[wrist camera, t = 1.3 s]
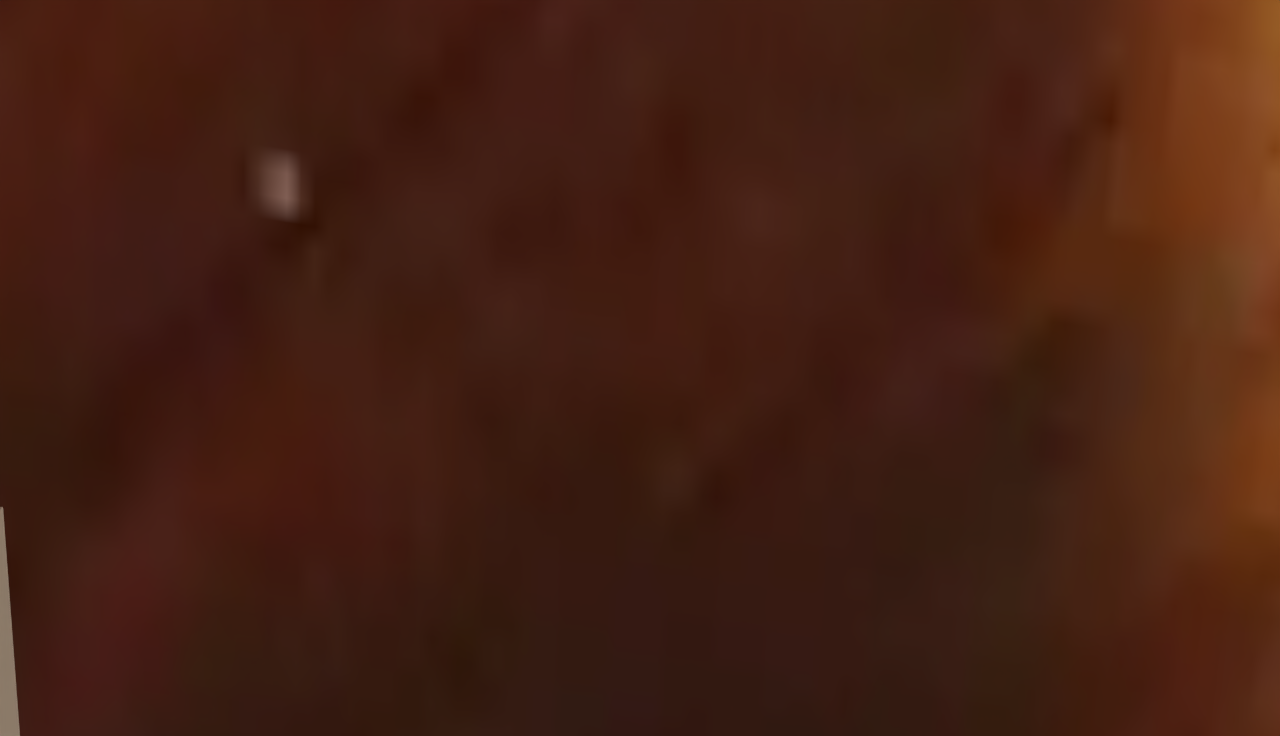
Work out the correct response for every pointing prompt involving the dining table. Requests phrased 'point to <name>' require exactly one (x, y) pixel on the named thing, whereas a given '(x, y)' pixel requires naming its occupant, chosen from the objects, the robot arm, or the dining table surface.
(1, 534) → the robot arm
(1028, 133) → the dining table surface
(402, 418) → the dining table surface
